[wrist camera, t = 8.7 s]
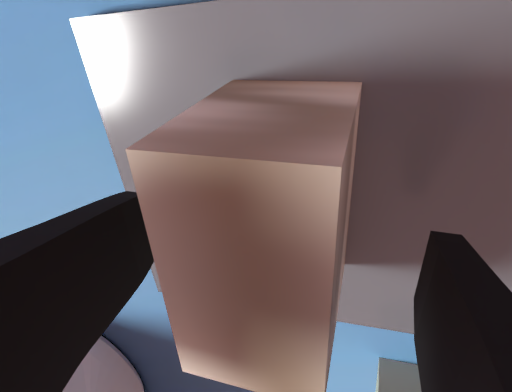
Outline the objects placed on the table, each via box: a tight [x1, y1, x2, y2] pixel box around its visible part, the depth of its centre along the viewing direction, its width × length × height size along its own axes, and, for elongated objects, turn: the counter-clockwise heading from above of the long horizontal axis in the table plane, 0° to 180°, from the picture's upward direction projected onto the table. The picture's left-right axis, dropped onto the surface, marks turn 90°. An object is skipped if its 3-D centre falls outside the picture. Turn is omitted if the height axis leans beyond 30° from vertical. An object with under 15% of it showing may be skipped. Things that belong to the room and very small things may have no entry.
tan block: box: [125, 80, 362, 392], centre depth 9 cm, size 4×6×5 cm, turn 3°
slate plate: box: [69, 0, 512, 334], centre depth 11 cm, size 13×11×1 cm
